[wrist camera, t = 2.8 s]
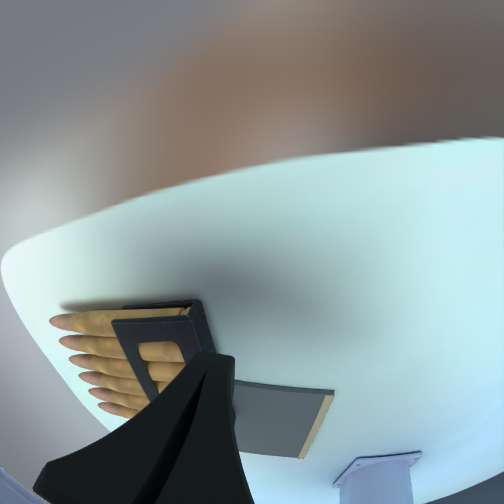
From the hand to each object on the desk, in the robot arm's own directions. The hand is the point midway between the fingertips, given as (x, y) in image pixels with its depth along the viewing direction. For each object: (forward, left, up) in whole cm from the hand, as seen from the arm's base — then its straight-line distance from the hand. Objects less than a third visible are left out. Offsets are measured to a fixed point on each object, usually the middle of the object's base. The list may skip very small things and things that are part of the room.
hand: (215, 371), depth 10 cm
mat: (-13, 0, -5) cm, 14 cm away
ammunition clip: (-6, +1, -4) cm, 7 cm away
